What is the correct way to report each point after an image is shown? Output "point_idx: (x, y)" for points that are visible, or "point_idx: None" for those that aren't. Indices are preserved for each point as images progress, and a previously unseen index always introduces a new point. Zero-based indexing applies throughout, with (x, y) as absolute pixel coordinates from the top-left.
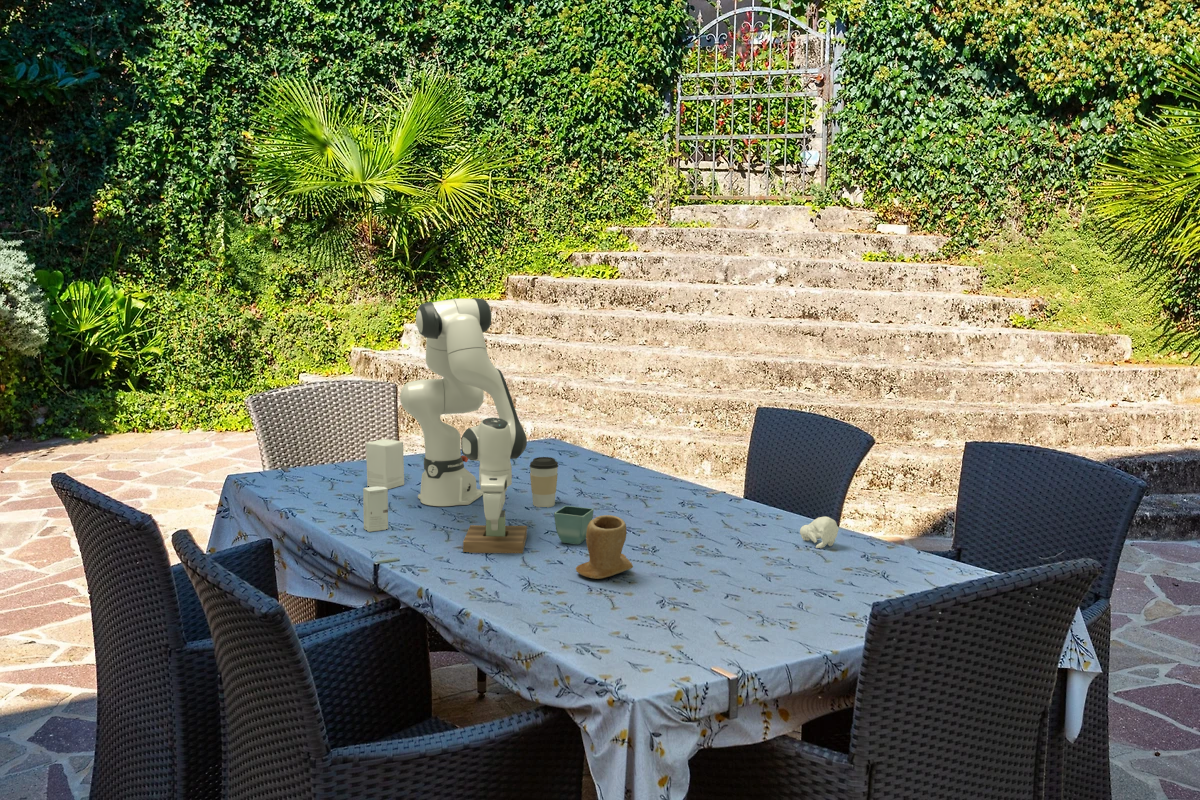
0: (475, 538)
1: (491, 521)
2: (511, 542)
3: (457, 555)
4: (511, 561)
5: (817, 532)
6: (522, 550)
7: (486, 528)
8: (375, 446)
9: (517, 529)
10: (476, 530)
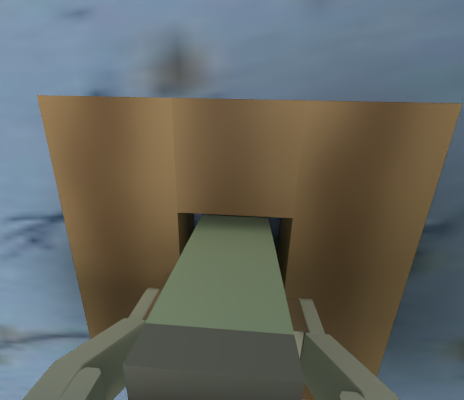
0: (125, 171)
1: (90, 345)
2: None
3: (40, 76)
4: (29, 302)
5: None
6: None
7: (183, 255)
8: None
9: None
10: (307, 164)
